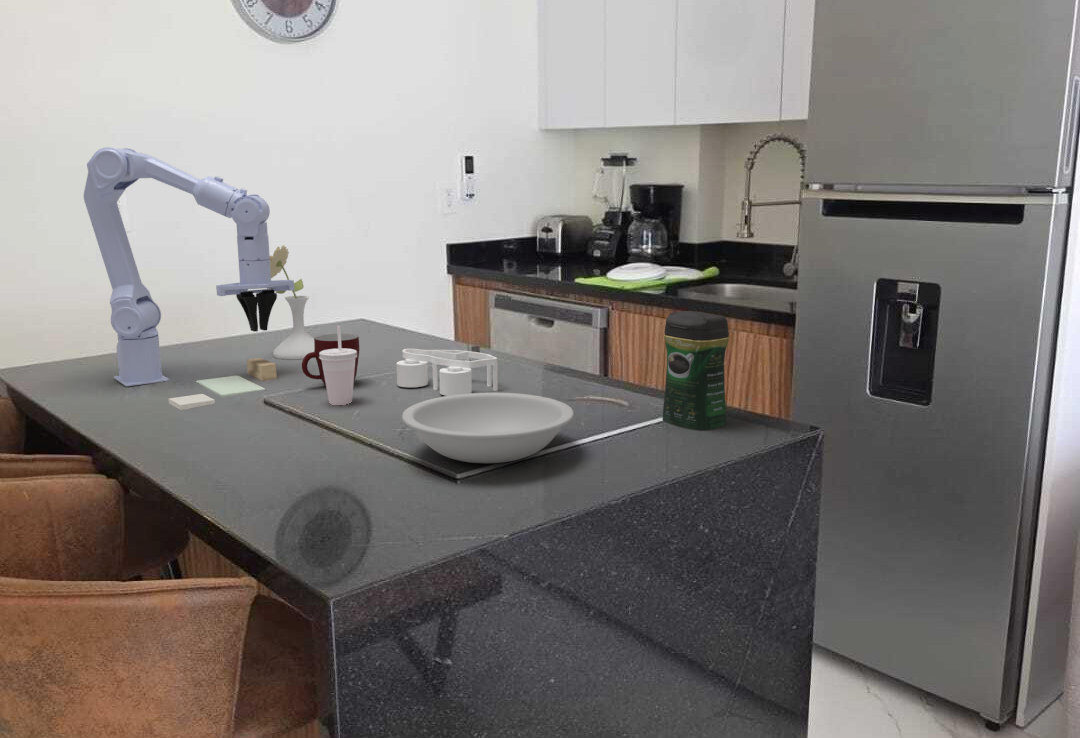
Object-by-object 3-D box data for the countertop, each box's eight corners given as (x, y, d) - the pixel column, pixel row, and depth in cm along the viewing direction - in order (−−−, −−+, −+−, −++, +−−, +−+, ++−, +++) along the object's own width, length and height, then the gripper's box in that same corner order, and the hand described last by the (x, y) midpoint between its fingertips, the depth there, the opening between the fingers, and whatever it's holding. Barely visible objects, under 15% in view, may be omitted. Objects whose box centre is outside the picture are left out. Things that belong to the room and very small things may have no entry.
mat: (196, 384, 179) (195, 380, 179) (237, 379, 184) (237, 375, 184) (222, 399, 167) (222, 395, 167) (265, 393, 172) (265, 388, 172)
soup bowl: (512, 496, 117) (511, 444, 115) (367, 465, 129) (365, 419, 128) (603, 448, 137) (604, 404, 135) (470, 426, 149) (469, 385, 148)
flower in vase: (303, 353, 210) (297, 241, 205) (338, 359, 203) (332, 243, 198) (255, 363, 200) (247, 245, 195) (290, 369, 193) (283, 247, 188)
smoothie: (367, 404, 163) (363, 325, 161) (344, 412, 158) (340, 330, 155) (337, 400, 166) (333, 322, 163) (314, 408, 160) (309, 328, 157)
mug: (311, 398, 168) (308, 344, 166) (298, 390, 174) (294, 337, 172) (367, 391, 173) (365, 338, 171) (352, 383, 180) (349, 332, 178)
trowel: (242, 379, 185) (241, 360, 184) (267, 375, 187) (266, 357, 187) (271, 392, 173) (269, 372, 172) (296, 389, 176) (295, 369, 175)
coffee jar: (734, 432, 145) (739, 313, 141) (699, 441, 140) (703, 318, 136) (688, 419, 152) (691, 306, 148) (653, 427, 147) (655, 310, 144)
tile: (168, 398, 164) (180, 405, 160) (202, 393, 168) (214, 399, 163) (169, 406, 164) (180, 412, 160) (203, 401, 168) (215, 407, 164)
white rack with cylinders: (385, 392, 173) (383, 353, 172) (428, 381, 182) (427, 344, 180) (463, 408, 161) (462, 366, 159) (506, 396, 169) (505, 356, 168)
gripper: (223, 263, 171) (228, 337, 173) (298, 258, 179) (302, 329, 182) (210, 260, 176) (216, 332, 179) (284, 256, 185) (288, 324, 187)
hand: (258, 330), depth 181 cm, fingers closed
